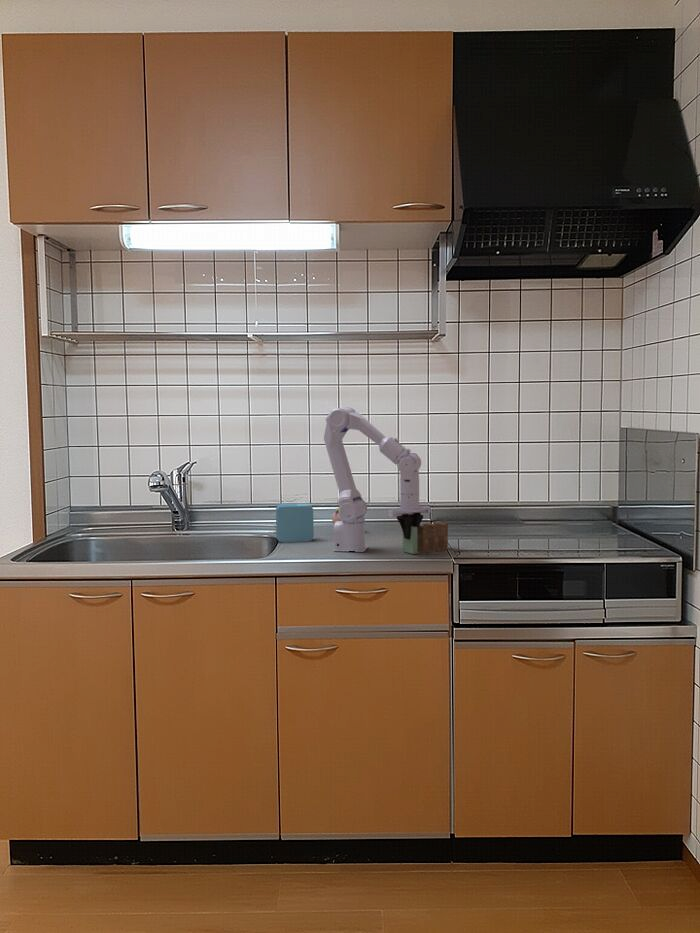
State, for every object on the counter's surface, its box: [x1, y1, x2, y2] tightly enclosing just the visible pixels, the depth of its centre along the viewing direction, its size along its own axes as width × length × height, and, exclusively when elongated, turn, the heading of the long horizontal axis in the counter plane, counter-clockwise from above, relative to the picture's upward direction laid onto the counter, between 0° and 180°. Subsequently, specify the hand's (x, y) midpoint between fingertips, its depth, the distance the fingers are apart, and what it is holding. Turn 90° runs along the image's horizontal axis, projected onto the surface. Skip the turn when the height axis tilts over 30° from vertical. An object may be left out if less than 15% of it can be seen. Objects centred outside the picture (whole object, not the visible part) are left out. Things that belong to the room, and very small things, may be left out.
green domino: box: [402, 526, 418, 555], centre depth 239 cm, size 2×5×8 cm, turn 33°
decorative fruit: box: [331, 507, 342, 525], centre depth 275 cm, size 9×8×10 cm
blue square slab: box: [275, 503, 315, 543], centre depth 262 cm, size 12×4×12 cm, turn 99°
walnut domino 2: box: [422, 522, 439, 553], centre depth 244 cm, size 2×5×8 cm, turn 34°
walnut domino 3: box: [432, 521, 449, 551], centre depth 246 cm, size 2×5×8 cm, turn 34°
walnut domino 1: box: [417, 524, 429, 554], centre depth 242 cm, size 2×5×8 cm, turn 34°
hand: (410, 538), depth 239 cm, fingers closed on green domino, 1 cm apart
